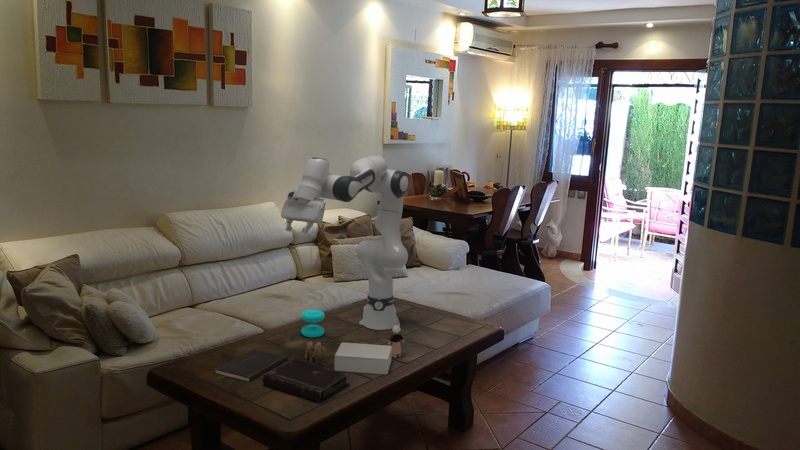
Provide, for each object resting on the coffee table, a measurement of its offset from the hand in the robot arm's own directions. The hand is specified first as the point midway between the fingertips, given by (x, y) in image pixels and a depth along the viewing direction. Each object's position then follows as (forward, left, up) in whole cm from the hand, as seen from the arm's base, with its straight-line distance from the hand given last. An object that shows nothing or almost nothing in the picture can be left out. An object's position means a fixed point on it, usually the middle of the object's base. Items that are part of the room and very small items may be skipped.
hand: (296, 232), depth 232 cm
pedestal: (-2, +27, -51) cm, 57 cm away
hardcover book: (+7, -14, -52) cm, 54 cm away
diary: (+19, +10, -52) cm, 56 cm away
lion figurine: (-3, +6, -51) cm, 52 cm away
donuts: (-32, 0, -51) cm, 60 cm away
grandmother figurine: (-14, +38, -51) cm, 65 cm away
